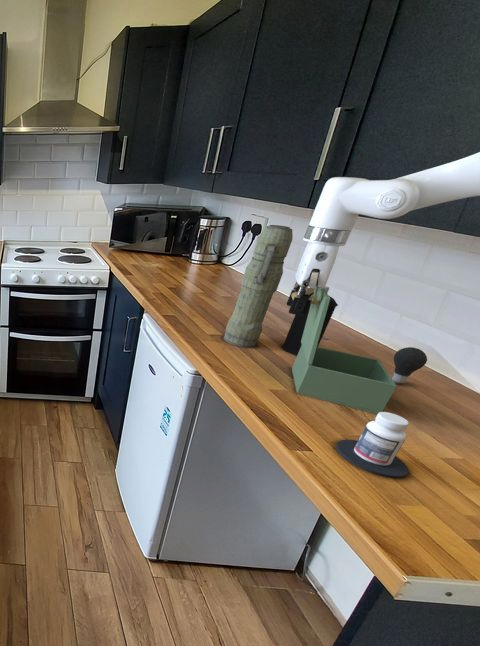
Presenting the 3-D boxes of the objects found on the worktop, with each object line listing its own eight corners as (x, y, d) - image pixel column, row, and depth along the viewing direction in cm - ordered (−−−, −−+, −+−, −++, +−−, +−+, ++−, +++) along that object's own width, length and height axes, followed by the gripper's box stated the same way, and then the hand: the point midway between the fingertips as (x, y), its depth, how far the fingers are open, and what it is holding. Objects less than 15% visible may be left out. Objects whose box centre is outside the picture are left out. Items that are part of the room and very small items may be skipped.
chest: (365, 386, 101) (379, 359, 98) (380, 415, 89) (396, 386, 86) (291, 368, 109) (302, 343, 105) (296, 393, 97) (308, 365, 94)
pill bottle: (365, 445, 78) (386, 407, 75) (397, 464, 74) (422, 424, 70) (346, 449, 77) (366, 411, 73) (377, 468, 72) (401, 428, 69)
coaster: (398, 454, 77) (399, 452, 77) (414, 487, 69) (416, 484, 69) (332, 435, 82) (333, 433, 82) (340, 463, 74) (342, 461, 74)
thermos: (256, 338, 126) (297, 225, 112) (256, 352, 117) (301, 231, 103) (223, 331, 131) (259, 222, 116) (221, 344, 122) (260, 227, 107)
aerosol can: (320, 359, 114) (350, 293, 106) (286, 354, 117) (313, 288, 109) (309, 348, 121) (336, 284, 113) (277, 343, 124) (302, 281, 116)
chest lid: (320, 282, 99) (292, 280, 102) (330, 298, 88) (298, 295, 90) (304, 342, 105) (278, 338, 108) (311, 364, 93) (281, 360, 96)
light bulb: (417, 388, 101) (438, 352, 97) (400, 389, 100) (420, 353, 96) (393, 376, 106) (411, 343, 102) (375, 378, 105) (394, 343, 101)
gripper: (355, 244, 82) (319, 325, 89) (340, 233, 95) (309, 304, 103) (310, 239, 85) (278, 317, 93) (301, 229, 99) (274, 297, 106)
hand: (295, 309), depth 98 cm, fingers closed on chest lid, 6 cm apart
